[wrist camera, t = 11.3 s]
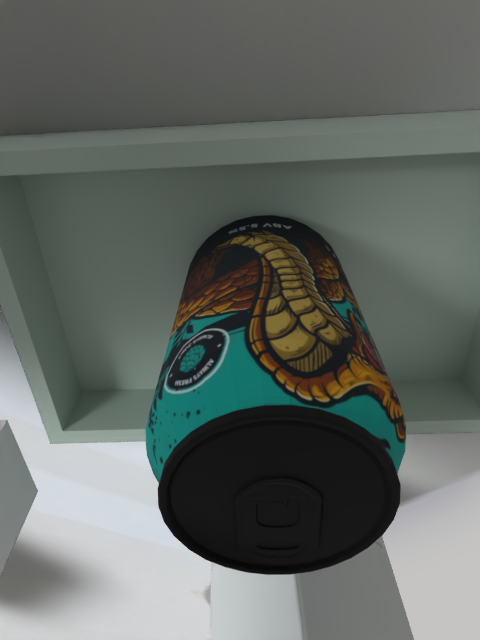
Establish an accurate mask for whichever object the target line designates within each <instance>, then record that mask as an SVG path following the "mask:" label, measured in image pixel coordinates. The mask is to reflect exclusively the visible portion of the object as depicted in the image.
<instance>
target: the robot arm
mask: <svg viewBox="0 0 480 640" xmlns="http://www.w3.org/2000/svg"><path fill="white" fill-rule="evenodd" d="M37 492H38V490H37V488H36V486H35V484H34V481H33V479H32V477H31V474H30V472H29V470H28V467H27V465H26V463H25V460H24V458H23V456H22V453H21V451H20V449H19V446H18V444H17V442H16V440H15V437H14V435H13V433H12V430H11V428H10V426H9V423H8V421H7V420H0V576H1V573H2V571H3V569H4V567H5V564H6V562H7V560H8V558H9V555H10V553H11V551H12V549H13V546H14V544H15V542H16V540H17V537H18V535H19V533H20V531H21V528H22V526H23V524H24V521H25V519H26V517H27V515H28V512H29V510H30V508H31V506H32V503H33V501H34V499H35V497H36V494H37Z"/></svg>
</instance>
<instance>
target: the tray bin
mask: <svg viewBox="0 0 480 640" xmlns="http://www.w3.org/2000/svg"><path fill="white" fill-rule="evenodd" d="M264 215H274V216H280V217H286V218H291V219H293V220H296V221H298V222H301V223H303V224H306V225H307V226H309V227H310V228H312V229H313V230H315V231H316V232H318V233H319V234H320V235H321V236H322V237H323V238H324V239H325V240H326V241H327V242H328V243H329V244H330V245H331V247H332V248H333V250H334V252H335V254H336V255H337V257H338V259H339V261H340V263H341V266H342V268H343V270H344V273H345V275H346V277H347V280H348V282H349V284H350V287H351V289H352V291H353V294H354V296H355V298H356V301H357V303H358V305H359V308H360V310H361V313H362V315H363V317H364V320H365V322H366V324H367V327H368V329H369V331H370V334H371V336H372V338H373V341H374V343H375V345H376V348H377V350H378V352H379V355H380V357H381V359H382V362H383V364H384V366H385V369H386V371H387V373H388V376H389V378H390V380H391V383H392V385H393V387H394V390H395V392H396V395H397V397H398V399H399V402H400V404H401V408H402V412H403V415H404V419H405V423H406V434H432V433H469V432H480V110H467V111H449V112H430V113H411V114H393V115H374V116H355V117H337V118H318V119H300V120H281V121H262V122H244V123H225V124H206V125H188V126H169V127H150V128H132V129H113V130H94V131H76V132H57V133H38V134H20V135H1V136H0V305H1V308H2V311H3V314H4V317H5V319H6V322H7V325H8V328H9V330H10V333H11V336H12V339H13V341H14V344H15V347H16V350H17V352H18V355H19V358H20V361H21V363H22V366H23V369H24V372H25V375H26V377H27V380H28V383H29V386H30V388H31V391H32V394H33V397H34V399H35V402H36V405H37V408H38V410H39V413H40V416H41V419H42V422H43V424H44V427H45V430H46V433H47V435H48V438H49V441H50V444H60V443H97V442H134V441H146V431H145V429H146V425H147V421H148V416H149V412H150V408H151V404H152V401H153V397H154V393H155V390H156V386H157V383H158V379H159V375H160V372H161V368H162V364H163V361H164V357H165V353H166V350H167V346H168V342H169V339H170V335H171V332H172V328H173V324H174V321H175V317H176V313H177V310H178V306H179V302H180V299H181V295H182V291H183V288H184V284H185V281H186V277H187V273H188V270H189V266H190V263H191V261H192V259H193V257H194V256H195V254H196V252H197V250H198V249H199V248H200V246H201V245H202V244H203V243H204V242H205V240H206V239H207V238H208V237H210V236H211V235H212V234H213V233H215V232H216V231H217V230H219V229H220V228H221V227H223V226H226V225H228V224H230V223H232V222H234V221H236V220H239V219H243V218H247V217H252V216H264Z"/></svg>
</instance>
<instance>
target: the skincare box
mask: <svg viewBox="0 0 480 640" xmlns="http://www.w3.org/2000/svg"><path fill="white" fill-rule="evenodd" d="M209 640H414V638H413V635H412V632H411V629H410V625H409V622H408V619H407V616H406V612H405V609H404V606H403V602H402V599H401V596H400V593H399V589H398V586H397V583H396V580H395V577H394V574H393V570H392V567H391V564H390V561H389V558H388V555H387V551H386V548H385V545H384V541H383V538H382V536H381V537H380V538H379V539H377V540H376V541H375V542H374V543H373V544H372V545H371V546H370V547H369V548H367V549H366V550H364V551H362V552H361V553H359V554H357V555H356V556H354V557H352V558H351V559H348V560H346V561H343V562H341V563H339V564H336V565H334V566H331V567H327V568H324V569H320V570H316V571H312V572H306V573H298V574H290V575H264V574H256V573H247V572H242V571H238V570H234V569H230V568H226V567H223V566H221V565H218V564H216V563H213V562H212V575H211V600H210V632H209Z"/></svg>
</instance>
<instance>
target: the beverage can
mask: <svg viewBox="0 0 480 640" xmlns="http://www.w3.org/2000/svg"><path fill="white" fill-rule="evenodd" d="M145 431H146V449H147V456H148V459H149V462H150V465H151V468H152V471H153V473H154V475H155V477H156V479H157V481H158V482H159V486H158V505H159V509H160V511H161V514H162V517H163V520H164V522H165V524H166V525H167V526H168V528H169V529H170V531H171V532H172V534H173V535H174V536H175V537H176V538H177V539H178V540H179V541H180V542H181V543H182V544H184V545H185V546H186V547H187V548H188V549H189V550H191V551H193V552H194V553H196V554H197V555H199V556H201V557H202V558H204V559H206V560H208V561H211V562H213V563H216V564H218V565H221V566H223V567H226V568H230V569H234V570H238V571H242V572H247V573H256V574H264V575H290V574H298V573H306V572H312V571H316V570H320V569H324V568H327V567H331V566H334V565H336V564H339V563H341V562H343V561H346V560H348V559H351V558H352V557H354V556H356V555H357V554H359V553H361V552H362V551H364V550H366V549H367V548H369V547H370V546H371V545H372V544H373V543H374V542H375V541H376V540H377V539H379V538H380V537H381V536H382V535H383V534H384V532H385V531H386V530H387V528H388V527H389V525H390V524H391V522H392V521H393V520H394V517H395V515H396V512H397V509H398V507H399V504H400V487H401V486H400V482H399V479H398V475H397V472H398V470H399V467H400V464H401V461H402V458H403V455H404V452H405V440H406V423H405V419H404V415H403V412H402V408H401V404H400V402H399V399H398V397H397V395H396V392H395V390H394V387H393V385H392V383H391V380H390V378H389V376H388V373H387V371H386V369H385V366H384V364H383V362H382V359H381V357H380V355H379V352H378V350H377V348H376V345H375V343H374V341H373V338H372V336H371V334H370V331H369V329H368V327H367V324H366V322H365V320H364V317H363V315H362V313H361V310H360V308H359V305H358V303H357V301H356V298H355V296H354V294H353V291H352V289H351V287H350V284H349V282H348V280H347V277H346V275H345V273H344V270H343V268H342V266H341V263H340V261H339V259H338V257H337V255H336V254H335V252H334V250H333V248H332V247H331V245H330V244H329V243H328V242H327V241H326V240H325V239H324V238H323V237H322V236H321V235H320V234H319V233H318V232H316V231H315V230H313V229H312V228H310V227H309V226H307V225H306V224H303V223H301V222H298V221H296V220H293V219H291V218H286V217H280V216H274V215H264V216H252V217H247V218H243V219H239V220H236V221H234V222H232V223H230V224H228V225H226V226H223V227H221V228H220V229H219V230H217V231H216V232H215V233H213V234H212V235H211V236H210V237H208V238H207V239H206V240H205V242H204V243H203V244H202V245H201V246H200V248H199V249H198V250H197V252H196V254H195V256H194V257H193V259H192V261H191V263H190V266H189V270H188V273H187V277H186V281H185V284H184V288H183V291H182V295H181V299H180V302H179V306H178V310H177V313H176V317H175V321H174V324H173V328H172V332H171V335H170V339H169V342H168V346H167V350H166V353H165V357H164V361H163V364H162V368H161V372H160V375H159V379H158V383H157V386H156V390H155V393H154V397H153V401H152V404H151V408H150V412H149V416H148V421H147V425H146V429H145Z"/></svg>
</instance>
